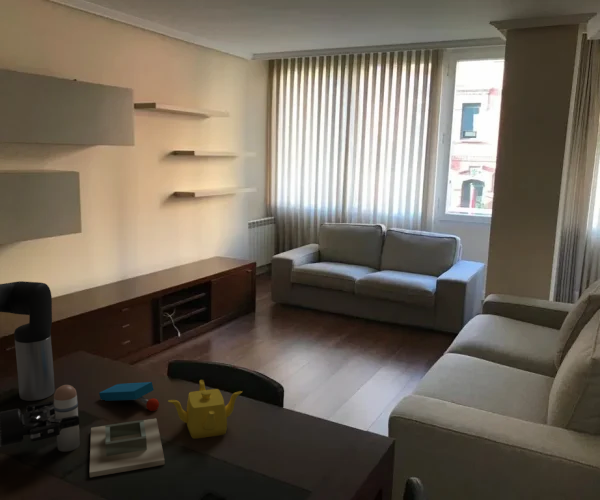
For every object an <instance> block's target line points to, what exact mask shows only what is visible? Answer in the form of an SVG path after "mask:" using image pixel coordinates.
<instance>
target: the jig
mask: <svg viewBox="0 0 600 500" xmlns="http://www.w3.org/2000/svg"><path fill="white" fill-rule="evenodd" d="M161 440H162V439H161V434H160V430H159V423H158V419H157V418H156V417H155V418H148V419H141V420H140V419H139V420H134V421H133V420H132V421H126V422H121V423H113V424H106V425H101V426H93V427H90V444H89V445H90V447H89V451H90V453H89V478H95V477H101V476H107V475H112V474H119V473H123V472H124V473H125V472H130V471H135V470H140V469H146V468H153V467H158V466H164V465H165V464H166V463H165V455H164V450H163V446H162V445H163V443H162V441H161Z"/></svg>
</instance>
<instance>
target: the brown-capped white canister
mask: <svg viewBox="0 0 600 500" xmlns="http://www.w3.org/2000/svg"><path fill="white" fill-rule="evenodd" d="M53 403H54V410H55V416H54V419H63V418H67V417H72V416H78V417H79V401H78V393H77V389H76V388H74V386H73V385H70V384H63V385H61V386H59V387H58V388H56V389H55V392H54V394H53ZM80 439H81V437H80V424H79V425H77V426H73V427H68V428H64V429H62V430H61V431H60V435H58V436H56V446H57V450H58V451H60V452H62V453H63V452H71V451H74V450H76V449H78V448H79V447H80V445H81V440H80Z"/></svg>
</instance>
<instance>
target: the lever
mask: <svg viewBox="0 0 600 500" xmlns="http://www.w3.org/2000/svg"><path fill="white" fill-rule="evenodd" d="M153 385H154V384H153V382H152V381H146V382H145V381H143V382H129V383H127V382H126V383H116V384H114V385H112V386H111V387H108V388H106V389H104V390H102V391H100V392H98V393H99V398H100V400H101V399H102V400H105V401H104V402H106V401H108V402H109V401H113V402H114V401H136V400H138V401H140V402H142V403H143V404H145V405H146V409H147V411H150V412H154V411H157V410H158V408H159V407H160V402H159V401H158V399H157V398H155V397H154V398H150V399H147V398H145V397H144V396H145V395H148V394H149V393H151V392H153V391H154V390H155V389H154V386H153ZM102 400H101V401H102Z"/></svg>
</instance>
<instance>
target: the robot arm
mask: <svg viewBox="0 0 600 500" xmlns="http://www.w3.org/2000/svg"><path fill="white" fill-rule="evenodd" d="M52 297H53V296H52V291H51V289H50V287H49V285H48V284H47V283H44V282H39V281H24V280H23V281H22V280H21V281H12V282H6V283H0V313H6V314H12V315H13V314H14V315H24V316H29V319H28V320H29V321H28V323H24V324H22V325H19V326H18V327H16V328H15V329H14V333H13V335H14V346H15V347H14V348H15V357H16V369H17V370H16V371H17V381H18V393H19V399H21V400H22V401H29V402H34V401H40V400H44V399H46V398H49V397H51V396H52V395H54V393H55V391H56V388H55V373H54V361H53V360H54V359H53V348H52V347H53V346H52V334H51V332H52V331H51V330H52V326H53V298H52ZM53 417H55V410H54V400H53V401H46V402H40V403H36V404H29V405H26V411H25V412H24V413H22V412H21V409H20V408H14V409H12V408H11V409H8V410H3V411H0V447H3V446H4V447H5V446H9V445H14V444H19V443H21V442H23V441H24V436H28V435H29V436H30V442H36V441H42V440H45V439H46V440H47V439H49V438H54V437H57V436H58V435H60V431H61V430H62V429H64V428H68V427H73V426H77V425H79V426H80V417H79V415H78V416H72V417H67V418H63V419H55V418H53Z"/></svg>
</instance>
